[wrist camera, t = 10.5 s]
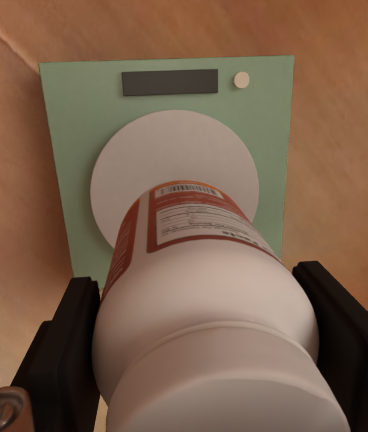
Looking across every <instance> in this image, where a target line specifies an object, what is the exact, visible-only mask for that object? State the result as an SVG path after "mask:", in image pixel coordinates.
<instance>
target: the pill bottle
mask: <svg viewBox="0 0 368 432" xmlns="http://www.w3.org/2000/svg"><path fill="white" fill-rule="evenodd" d="M318 354H319V330H318V324H317V320H316V316H315V313H314V310H313V307H312V305H311V303H310V301H309V299H308V297H307V295H306V294H305V292H304V290H303V289H302V287H301V286H300V285H299V283H298V282H297V281H296V279H295V278H294V276H293V275H292V274H291V272H290V271H289V270H288V269H287V268H286V266H285V265H284V264H283V263H282V262H281V260H280V259H279V258H278V256H277V255H276V254H275V253H274V252H273V250H272V249H271V248H270V246H269V245H268V244H267V243H266V241H265V240H264V239H263V237H262V236H261V235H260V234H259V232H258V231H257V230H256V228H255V227H254V226H253V225H252V223H251V222H250V221H249V220H248V218H247V217H246V216H245V214H244V213H243V212H242V211H241V209H240V208H239V207H238V206H237V204H236V203H235V202H234V201H233V200H232V199H231V198H230V197H229V196H228V195H227V194H226V193H224V192H223V191H221V190H220V189H218V188H217V187H215V186H212V185H210V184H208V183H205V182H201V181H197V180H189V179H180V180H172V181H167V182H164V183H161V184H159V185H156V186H154V187H152V188H151V189H149V190H147V191H146V192H144V193H143V194H142V195H141V196H139V197H138V198H137V199H136V200H135V201H134V203H133V204H132V205H131V206H130V208H129V209H128V211H127V213H126V215H125V217H124V219H123V221H122V223H121V226H120V229H119V233H118V236H117V241H116V245H115V249H114V253H113V257H112V261H111V264H110V268H109V272H108V276H107V280H106V283H105V287H104V290H103V293H102V297H101V301H100V305H99V308H98V312H97V316H96V321H95V327H94V333H93V339H92V350H91V357H92V368H93V373H94V377H95V381H96V384H97V387H98V389H99V391H100V393H101V395H102V397H103V399H104V401H105V402H106V404H107V406H108V412H107V417H106V432H351V431H350V427H349V424H348V422H347V419H346V416H345V415H344V413H343V411H342V409H341V407H340V406H339V404H338V402H337V400H336V398H335V397H334V395H333V393H332V391H331V389H330V388H329V386H328V384H327V382H326V381H325V379H324V378H323V376H322V375H321V373H320V372H319V370H318V368H317V367H316V364H317V359H318Z"/></svg>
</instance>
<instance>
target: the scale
mask: <svg viewBox="0 0 368 432" xmlns="http://www.w3.org/2000/svg"><path fill="white" fill-rule="evenodd" d="M38 65H39V71H40V77H41V83H42V89H43V95H44V101H45V107H46V113H47V120H48V126H49V132H50V138H51V144H52V150H53V156H54V162H55V168H56V174H57V180H58V186H59V192H60V198H61V204H62V210H63V216H64V222H65V228H66V234H67V240H68V246H69V253H70V259H71V265H72V271H73V277H88V276H90V277H91V279H92V281H95V280H97V282H98V287H99V289H104V287H105V283H106V280H107V276H108V272H109V268H110V264H111V261H112V257H113V253H114V249H115V245H116V241H117V236H118V233H119V229H120V226H121V223H122V221H123V219H124V217H125V215H126V213H127V211H128V209H129V208H130V206H131V205H132V204H133V203H134V201H135V200H136V199H137V198H138V197H139V196H141V195H142V194H143V193H144V192H146V191H147V190H149V189H151V188H152V187H154V186H156V185H159V184H161V183H164V182H167V181H172V180H180V179H189V180H197V181H201V182H205V183H208V184H210V185H212V186H215V187H217V188H218V189H220V190H221V191H223V192H224V193H226V194H227V195H228V196H229V197H230V198H231V199H232V200H233V201H234V202H235V203H236V204H237V206H238V207H239V208H240V209H241V211H242V212H243V213H244V214H245V216H246V217H247V218H248V220H249V221H250V222H251V223H252V225H253V226H254V227H255V228H256V230H257V231H258V232H259V234H260V235H261V236H262V237H263V239H264V240H265V241H266V243H267V244H268V245H269V246H270V248H271V249H272V250H273V252H274V253H275V254H276V255H277V256H278V258H279V259H280V258H281V244H282V229H283V215H284V200H285V186H286V171H287V157H288V142H289V128H290V114H291V99H292V85H293V70H294V55H278V56H245V57H211V58H178V59H144V60H111V61H77V62H44V63H39V64H38Z"/></svg>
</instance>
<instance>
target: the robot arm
mask: <svg viewBox="0 0 368 432" xmlns="http://www.w3.org/2000/svg"><path fill="white" fill-rule="evenodd" d="M292 275H293V276H294V278H295V279H296V281H297V282H298V283H299V285H300V286H301V287H302V289H303V290H304V292H305V294H306V295H307V297H308V299H309V301H310V303H311V305H312V307H313V310H314V313H315V316H316V320H317V324H318V330H319V354H318V359H317V364H316V367H317V368H318V370H319V372H320V373H321V375H322V376H323V378H324V379H325V381H326V382H327V384H328V386H329V388H330V389H331V391H332V393H333V395H334V397H335V398H336V400H337V402H338V404H339V406H340V407H341V409H342V411H343V413H344V415H345V416H346V419H347V422H348V424H349V427H350V431H351V432H368V312H367V310H366V309H365V308H364V307H363V306H362V305H361V304H360V303H359V302H358V301H357V300H356V299H355V298H354V297H353V296H352V295H351V294H350V293H349V292H348V291H347V290H346V289H345V288H344V287H343V286H342V285H341V284H340V283H339V282H338V281H337V280H336V279H335V278H334V277H333V276H332V275H331V274H330V273H329V272H328V271H327V270H326V269H325V268H324V267H323V266H322V265H321V264H320V263H319V262H318V261H305V262H299V263H298V265H297V266H295V267H293V270H292ZM99 305H100V294H99V287H98V282H97V280H95V281H92V279H91V277H90V276H88V277H74V278H72V279H71V280H70V282H69V285H68V287H67V289H66V291H65V293H64V295H63V297H62V300H61V302H60V304H59V306H58V308H57V310H56V312H55V315H54V317H53V319H52V320H51V321H44V322H43V323H42V324H41V326H40V327H39V329H38V331H37V333H36V335H35V337H34V339H33V341H32V343H31V345H30V347H29V349H28V351H27V353H26V355H25V357H24V359H23V361H22V363H21V365H20V367H19V369H18V371H17V373H16V375H15V377H14V379H13V381H12V383H11V385H10V386H5V387H1V388H0V432H93V431H94V426H95V420H96V415H97V410H98V404H99V399H100V391H99V389H98V387H97V384H96V381H95V377H94V373H93V368H92V357H91V350H92V339H93V333H94V327H95V321H96V316H97V312H98V308H99Z"/></svg>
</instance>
